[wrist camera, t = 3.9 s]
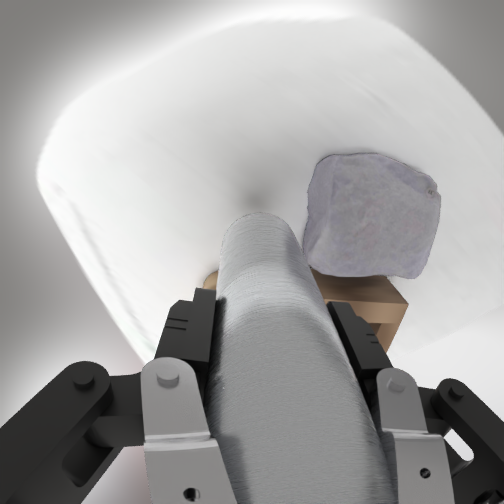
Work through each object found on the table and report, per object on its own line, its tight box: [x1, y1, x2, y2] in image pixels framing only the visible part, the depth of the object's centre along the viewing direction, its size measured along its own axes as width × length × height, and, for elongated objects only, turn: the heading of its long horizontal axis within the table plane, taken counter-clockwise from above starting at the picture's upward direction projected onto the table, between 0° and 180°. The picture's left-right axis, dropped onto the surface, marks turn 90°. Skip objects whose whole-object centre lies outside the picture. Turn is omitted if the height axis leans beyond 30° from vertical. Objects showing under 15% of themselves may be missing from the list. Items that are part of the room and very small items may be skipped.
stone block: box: [303, 153, 441, 279], centre depth 24 cm, size 12×5×10 cm
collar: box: [310, 269, 409, 353], centre depth 27 cm, size 10×10×5 cm
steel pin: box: [194, 213, 395, 504], centre depth 10 cm, size 4×4×15 cm
